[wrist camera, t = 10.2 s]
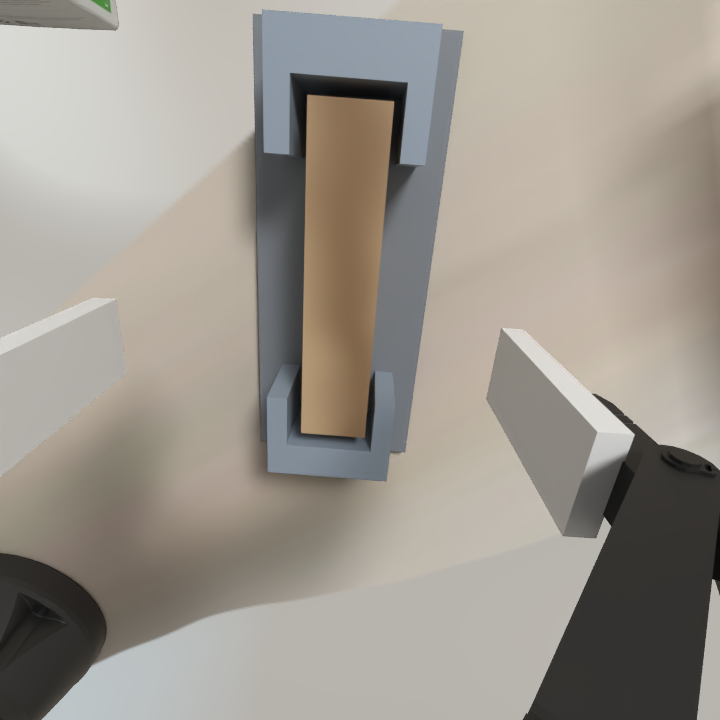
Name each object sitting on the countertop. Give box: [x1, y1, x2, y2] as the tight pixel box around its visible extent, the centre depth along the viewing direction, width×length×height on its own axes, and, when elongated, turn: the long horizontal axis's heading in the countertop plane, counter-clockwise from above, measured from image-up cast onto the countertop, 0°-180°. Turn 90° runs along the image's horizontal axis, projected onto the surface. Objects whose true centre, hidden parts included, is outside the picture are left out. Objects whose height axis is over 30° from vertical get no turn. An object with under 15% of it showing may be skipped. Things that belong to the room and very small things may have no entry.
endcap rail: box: [253, 9, 464, 481], centre depth 23 cm, size 10×24×5 cm, turn 176°
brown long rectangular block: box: [301, 95, 394, 438], centre depth 23 cm, size 4×16×5 cm, turn 176°
